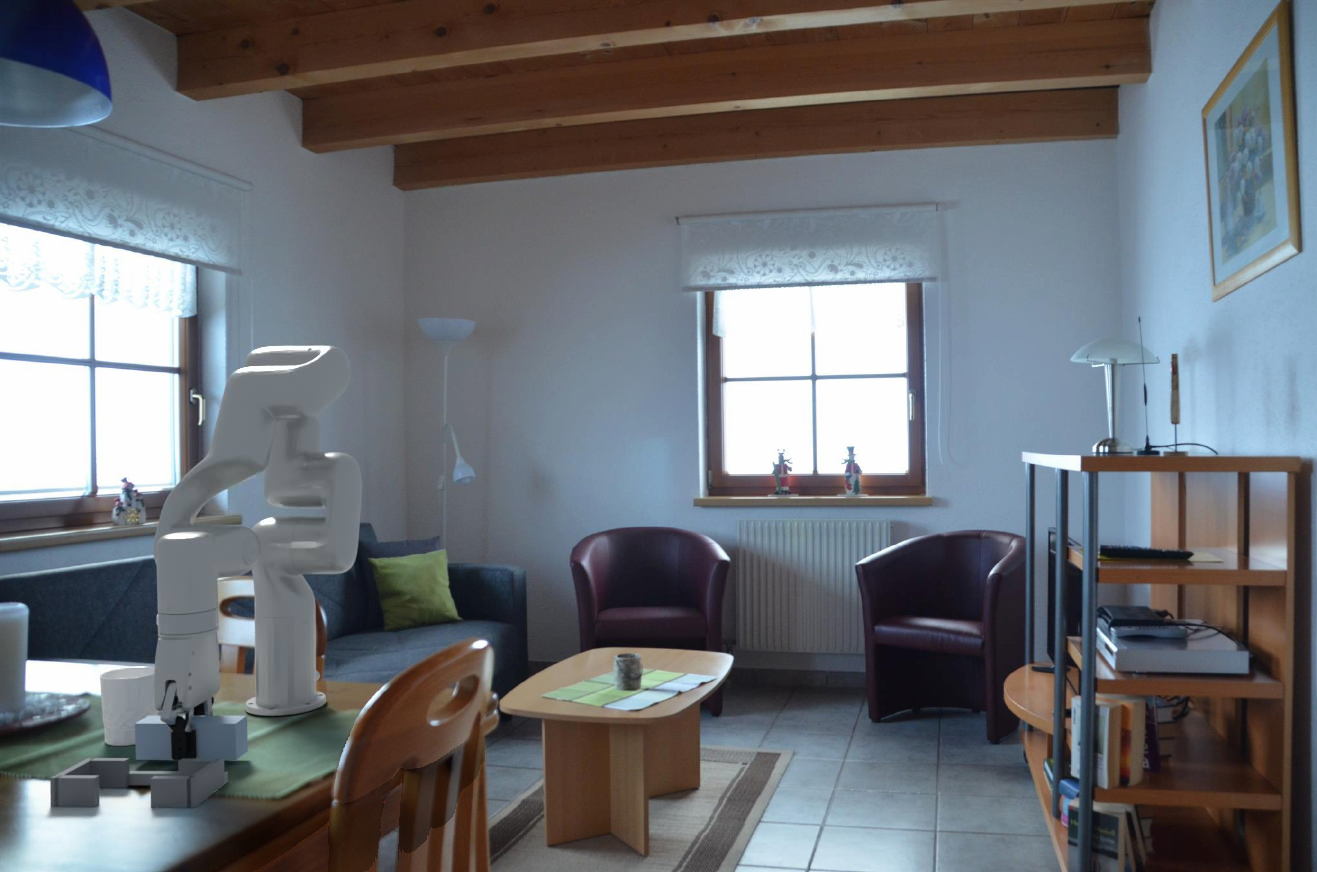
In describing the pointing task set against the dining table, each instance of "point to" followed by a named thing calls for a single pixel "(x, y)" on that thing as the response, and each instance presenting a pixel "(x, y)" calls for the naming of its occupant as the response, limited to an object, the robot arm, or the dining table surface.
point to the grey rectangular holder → (138, 782)
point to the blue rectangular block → (212, 738)
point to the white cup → (126, 702)
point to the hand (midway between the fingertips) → (192, 752)
